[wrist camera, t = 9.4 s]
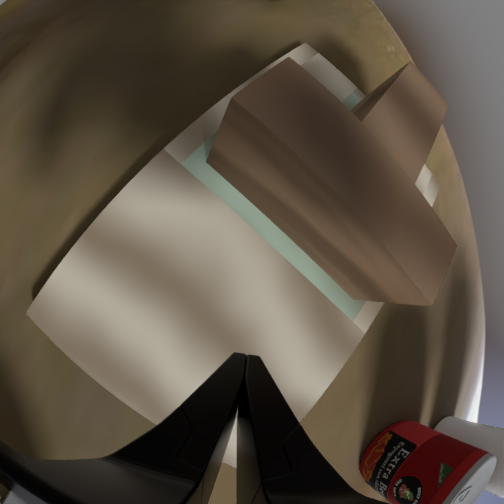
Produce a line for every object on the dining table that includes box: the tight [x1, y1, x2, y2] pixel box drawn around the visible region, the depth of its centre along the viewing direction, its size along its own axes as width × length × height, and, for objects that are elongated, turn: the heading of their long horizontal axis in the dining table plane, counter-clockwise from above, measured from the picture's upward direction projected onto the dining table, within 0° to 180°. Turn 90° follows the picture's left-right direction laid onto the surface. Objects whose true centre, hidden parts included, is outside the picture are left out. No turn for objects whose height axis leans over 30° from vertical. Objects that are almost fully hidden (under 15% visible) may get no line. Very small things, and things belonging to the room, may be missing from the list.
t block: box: [206, 57, 457, 306], centre depth 16 cm, size 13×13×7 cm
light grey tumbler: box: [433, 416, 504, 498], centre depth 16 cm, size 7×7×15 cm
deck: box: [26, 42, 440, 468], centre depth 18 cm, size 29×18×1 cm, turn 139°
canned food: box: [360, 421, 497, 504], centre depth 15 cm, size 8×8×11 cm
